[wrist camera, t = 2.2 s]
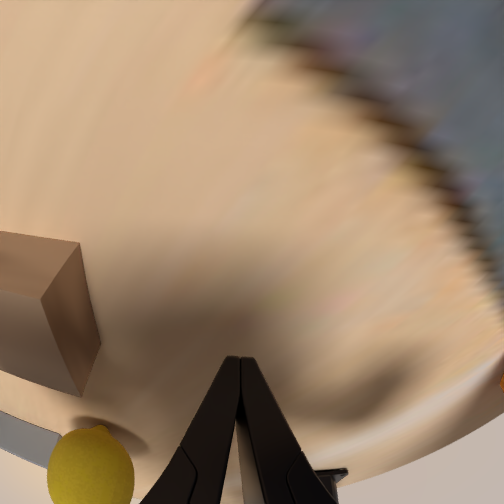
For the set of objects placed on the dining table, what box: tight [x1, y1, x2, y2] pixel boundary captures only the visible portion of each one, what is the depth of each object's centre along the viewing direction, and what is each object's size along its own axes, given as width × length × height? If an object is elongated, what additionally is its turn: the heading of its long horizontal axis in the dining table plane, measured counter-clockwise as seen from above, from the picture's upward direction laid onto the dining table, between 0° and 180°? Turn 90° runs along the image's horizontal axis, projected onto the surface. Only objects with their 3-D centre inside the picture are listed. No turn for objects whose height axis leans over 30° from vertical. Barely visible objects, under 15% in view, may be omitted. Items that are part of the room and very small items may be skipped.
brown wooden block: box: [0, 231, 101, 397], centre depth 9 cm, size 5×5×3 cm
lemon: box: [47, 425, 135, 504], centre depth 13 cm, size 6×6×8 cm
